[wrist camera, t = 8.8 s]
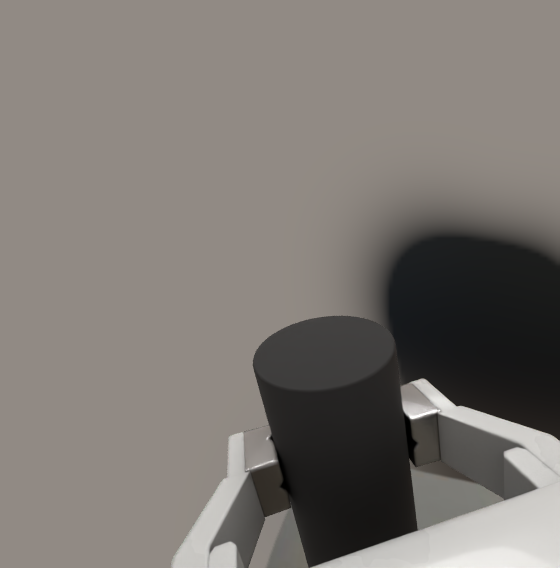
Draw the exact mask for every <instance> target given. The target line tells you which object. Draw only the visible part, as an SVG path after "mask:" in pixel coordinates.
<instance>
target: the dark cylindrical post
mask: <svg viewBox="0 0 560 568" xmlns="http://www.w3.org/2000/svg"><path fill="white" fill-rule="evenodd" d="M396 355H397V354H396V346H395V341H394V338H393V336H392V335H391V334H390V332H389V331H388V330H387V329H386V328H384V327H383V326H381V325H380V324H378V323H376V322H373V321H371V320H368V319H364V318H359V317H351V316H328V317H320V318H314V319H309V320H305V321H302V322H299V323H295V324H293V325H290V326H288V327H286V328H283V329H281V330H280V331H278V332H276V333H274V334H273V335H271V336H270V337H269V338H267V339H266V340H265V341H264V342H263V343H262V344H261V345H260V346H259V348H258V349H257V351H256V353H255V355H254V359H253V368H254V372H255V376H256V379H257V383H258V386H259V390H260V394H261V397H262V401H263V404H264V408H265V412H266V415H267V419H268V422H269V426H270V430H271V433H272V437H273V441H274V444H275V446H276V449H277V452H278V456H279V460H280V463H281V467H282V472H283V475H284V478H285V481H286V485H287V489H288V492H289V498H290V502H291V505H292V509H293V513H294V516H295V520H296V524H297V527H298V531H299V534H300V538H301V542H302V545H303V549H304V552H305V556H306V560H307V563H308V567H309V568H310V567H313V566H316V565H319V564H322V563H325V562H328V561H331V560H334V559H336V558H339V557H342V556H345V555H348V554H351V553H354V552H357V551H360V550H363V549H365V548H368V547H371V546H374V545H377V544H380V543H383V542H386V541H389V540H391V539H394V538H397V537H400V536H403V535H406V534H409V533H412V532H415V531H418V529H417V521H416V512H415V504H414V496H413V487H412V479H411V471H410V463H409V454H408V446H407V437H406V429H405V421H404V412H403V404H402V396H401V387H400V379H399V371H398V362H397V356H396Z"/></svg>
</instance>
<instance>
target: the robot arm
mask: <svg viewBox="0 0 560 568" xmlns="http://www.w3.org/2000/svg"><path fill="white" fill-rule="evenodd" d="M400 387H401V396H402V404H403V412H404V421H405V429H406V437H407V446H408V454H409V458H410V460H411V461H412V463H413V464H414V465H415V467H418V466H422V465H425V464H429V463H432V462H436V461H439V460H441V461H442V462H443V463H445V464H446V465H448V466H450V467H452V468H453V469H455V470H457V471H458V472H460V473H462V474H463V475H465V476H467V477H469V478H470V479H472V480H473V481H475V482H477V483H478V484H480V485H482V486H484V487H485V488H487V489H489V490H490V491H492V492H494V493H495V494H497V495H499V496H500V497H502V498H504V501H501V502H498V503H495V504H493V505H490V506H487V507H484V508H481V509H478V510H475V511H472V512H470V513H467V514H464V515H461V516H458V517H455V518H452V519H449V520H446V521H444V522H441V523H438V524H435V525H432V526H429V527H426V528H423V529H420V530H418V531H415V532H412V533H409V534H406V535H403V536H400V537H397V538H394V539H391V540H389V541H386V542H383V543H380V544H377V545H374V546H371V547H368V548H365V549H363V550H360V551H357V552H354V553H351V554H348V555H345V556H342V557H339V558H336V559H334V560H331V561H328V562H325V563H322V564H319V565H316V566H313V567H310V568H560V441H559V440H557V439H556V438H555V437H553V436H552V435H550V434H546V433H543V432H541V431H537V430H534V429H531V428H528V427H525V426H522V425H519V424H516V423H513V422H510V421H507V420H504V419H500V418H497V417H494V416H491V415H488V414H485V413H482V412H479V411H476V410H473V409H469V408H466V407H463V406H458V407H456V406H455V405H454V404H453V403H452V402H451V401H450V400H448V399H447V398H446V397H445V396H444V395H443V394H441V393H440V392H439V391H438V390H437V389H436V388H435V387H433V386H432V385H431V384H430V383H429V382H428V381H427V380H425V379H419V380H416V381H413V382H410V383H409V384H405V385H401V386H400ZM227 465H228V468H227V478H226V479H223V480H222V481H221V483H220V484H219V486H218V488H217V489H216V491H215V492H214V494H213V495H212V497H211V499H210V500H209V502H208V503H207V505H206V507H205V508H204V510H203V511H202V513H201V515H200V516H199V518H198V519H197V521H196V522H195V524H194V525H193V527H192V529H191V531H190V532H189V533H188V535H187V537H186V538H185V540H184V541H183V543H182V544H181V546H180V548H179V549H178V551H177V552H176V554H175V555H174V557H173V559H172V564H171V568H248V566H249V564H250V561H251V558H252V555H253V552H254V549H255V547H256V544H257V541H258V538H259V535H260V532H261V530H262V527H263V524H264V521H265V517H267V516H270V515H273V514H275V513H278V512H281V511H283V510H286V509H289V508H291V503H290V498H289V492H288V489H287V485H286V481H285V478H284V475H283V472H282V467H281V463H280V460H279V456H278V452H277V449H276V446H275V444H274V441H273V437H272V433H271V430H270V426H269V425H267V426H263V427H260V428H256V429H252V430H248V431H245V432H242V433H238V434H234V435H231V436H229V439H228V464H227Z"/></svg>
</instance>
